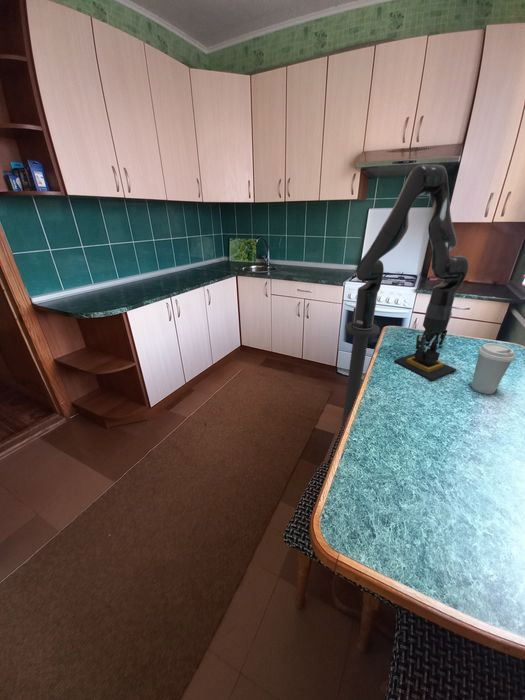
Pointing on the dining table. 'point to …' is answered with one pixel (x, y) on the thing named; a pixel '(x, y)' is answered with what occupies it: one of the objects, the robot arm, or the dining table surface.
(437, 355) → the black block
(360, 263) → the robot arm
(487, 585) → the dining table surface
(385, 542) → the dining table surface
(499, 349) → the coffee cup
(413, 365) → the base pad
